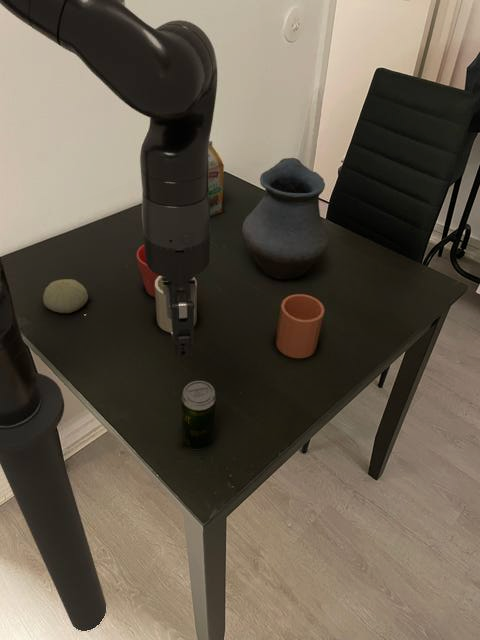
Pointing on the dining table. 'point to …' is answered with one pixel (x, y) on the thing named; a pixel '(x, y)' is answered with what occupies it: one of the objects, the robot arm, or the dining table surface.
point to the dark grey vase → (287, 221)
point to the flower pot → (146, 272)
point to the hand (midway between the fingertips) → (179, 332)
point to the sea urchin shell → (65, 296)
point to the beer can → (198, 415)
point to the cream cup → (161, 306)
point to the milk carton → (215, 180)
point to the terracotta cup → (299, 325)
